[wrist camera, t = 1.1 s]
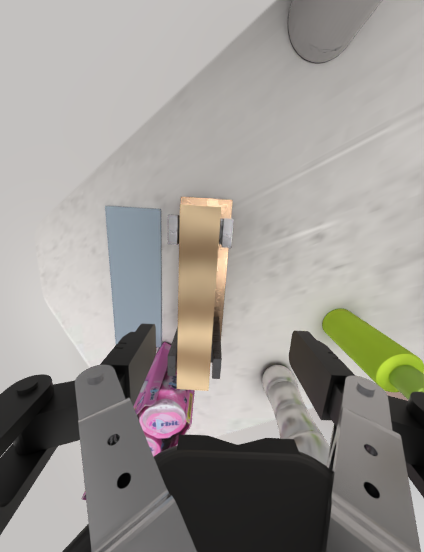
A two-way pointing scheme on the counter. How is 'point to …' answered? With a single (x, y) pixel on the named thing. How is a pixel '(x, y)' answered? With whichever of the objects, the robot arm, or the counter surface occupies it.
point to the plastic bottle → (293, 413)
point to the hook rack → (224, 244)
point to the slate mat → (135, 268)
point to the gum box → (163, 406)
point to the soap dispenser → (375, 353)
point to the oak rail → (196, 293)
